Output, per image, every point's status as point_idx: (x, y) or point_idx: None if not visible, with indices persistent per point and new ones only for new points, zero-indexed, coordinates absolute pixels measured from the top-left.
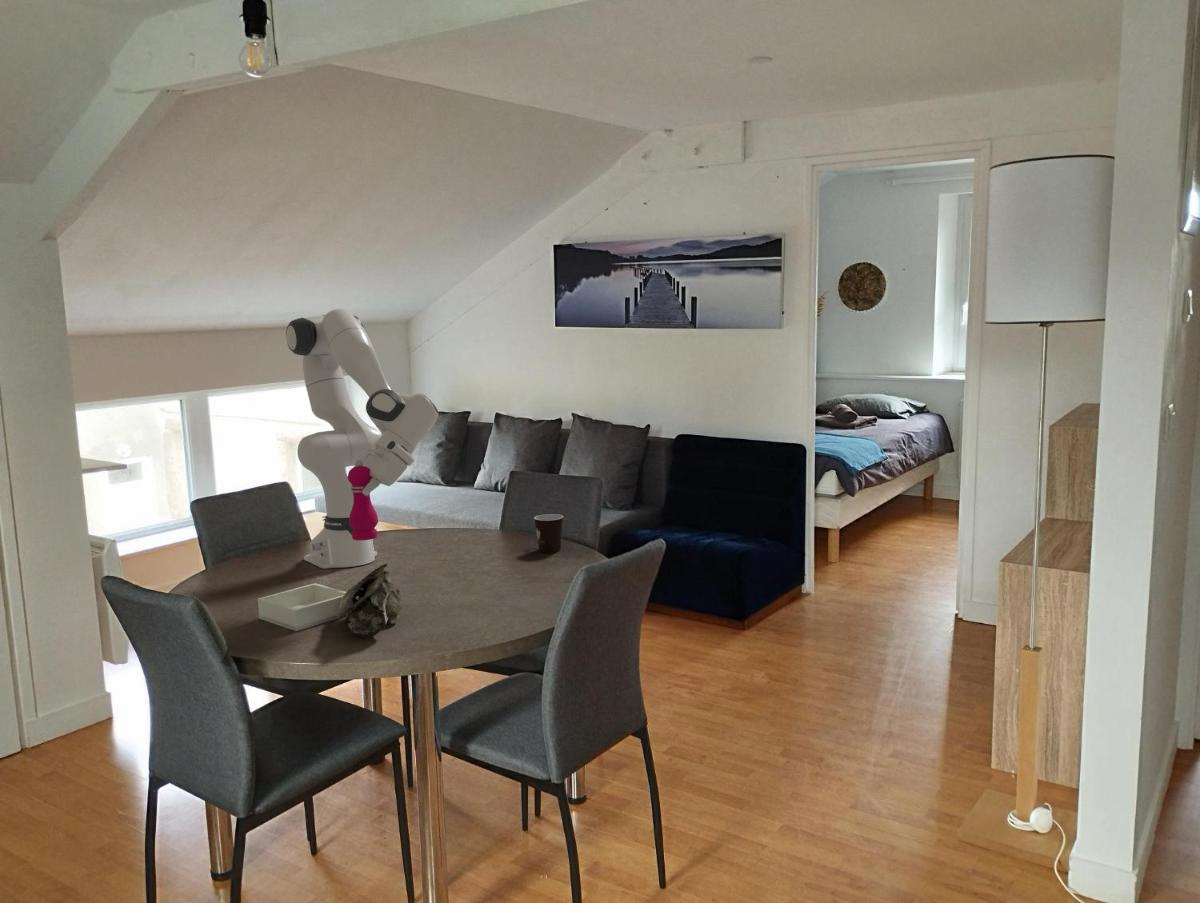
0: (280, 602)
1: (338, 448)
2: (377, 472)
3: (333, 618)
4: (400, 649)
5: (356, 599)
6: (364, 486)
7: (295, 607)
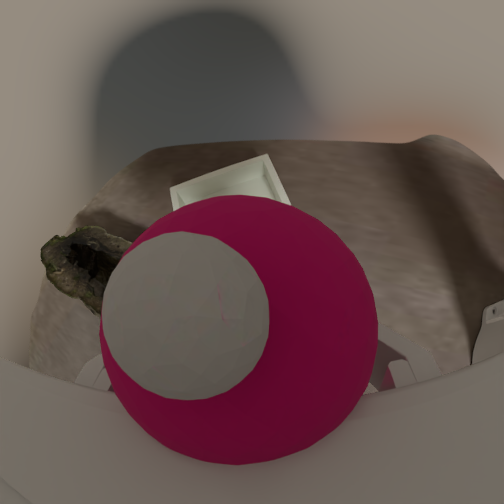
0: (273, 189)
1: None
2: (14, 392)
3: None
4: (57, 289)
5: None
6: None
7: None
